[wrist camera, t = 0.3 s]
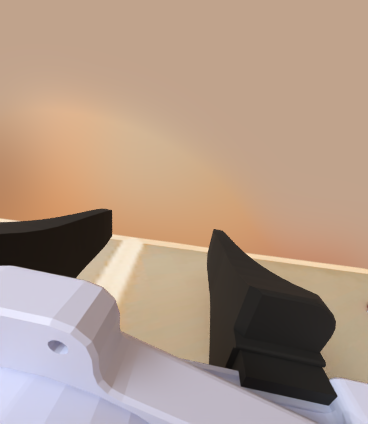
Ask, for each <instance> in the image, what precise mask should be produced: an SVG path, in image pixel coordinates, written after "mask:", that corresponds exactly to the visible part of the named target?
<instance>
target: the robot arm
mask: <svg viewBox="0 0 368 424" xmlns="http://www.w3.org/2000/svg"><path fill="white" fill-rule="evenodd" d="M111 237H112V210H108V209H96V210H91V211H86V212H82V213H77V214H73V215H67V216H62V217H56V218H50V219H43V220H33V221H20V222H0V424H368V383H364V382H359V381H354V380H350V379H345V378H339V377H335V378H330V379H328V377H327V375H326V373H325V372H324V370H323V368H322V367H325V366H326V362H325V360H324V359H323V357H322V355H321V353H320V351H321V350H322V349H323V347H324V346H325V345H326V343H327V342H328V341H329V339H330V338H331V337H332V335H333V333H334V331H335V326H336V321H335V318H334V315H333V314H332V313H331V311H330V310H329V309H328V307H327V306H326V305H325V303H324V302H323V301H322V299H321V298H320V297H319V296H318V295H317V294H314V293H312V292H310V291H308V290H305V289H303V288H301V287H299V286H296V285H294V284H292V283H290V282H288V281H286V280H285V279H283V278H281V277H279V276H277V275H275V274H274V273H272V272H270V271H269V270H267V269H266V268H264V267H263V266H261V265H260V264H258V263H257V262H256V261H254V260H253V259H252V258H250V257H249V256H248V255H247V254H245V253H244V252H243V251H242V250H241V249H240V248H239V247H238V246H237V245H236V244H235V243H234V242H233V241H232V240H231V239H230V238H229V237H228V236H227V235H226V234H225V233H224V232H223V231H221V230H216V229H214V230H213V234H212V238H211V242H210V246H209V250H208V255H207V271H208V281H209V291H210V351H209V364H204V363H200V362H195V361H190V360H186V359H181V358H178V357H176V356H174V355H171V354H169V353H167V352H165V351H163V350H161V349H158V348H156V347H154V346H152V345H150V344H148V343H146V342H143V341H141V340H139V339H137V338H135V337H133V336H130V335H128V334H126V333H124V332H122V331H120V312H119V309H118V306H117V303H116V300H115V299H114V297H113V296H112V295H111V294H110V293H108V292H107V291H106V290H105V289H104V288H103V287H101V286H99V285H96V284H94V283H91V282H89V281H85V280H80V279H76V277H77V276H78V275H79V274H80V272H81V271H82V270H83V269H84V268H85V267H86V266H87V265H88V264H89V263H90V262H91V261H92V260H93V258H94V257H95V256H96V255H97V254H98V253H99V252H100V251H101V250H102V249H103V248H104V247H105V245H106V244H107V243H108V241H109V240H110V238H111Z"/></svg>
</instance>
